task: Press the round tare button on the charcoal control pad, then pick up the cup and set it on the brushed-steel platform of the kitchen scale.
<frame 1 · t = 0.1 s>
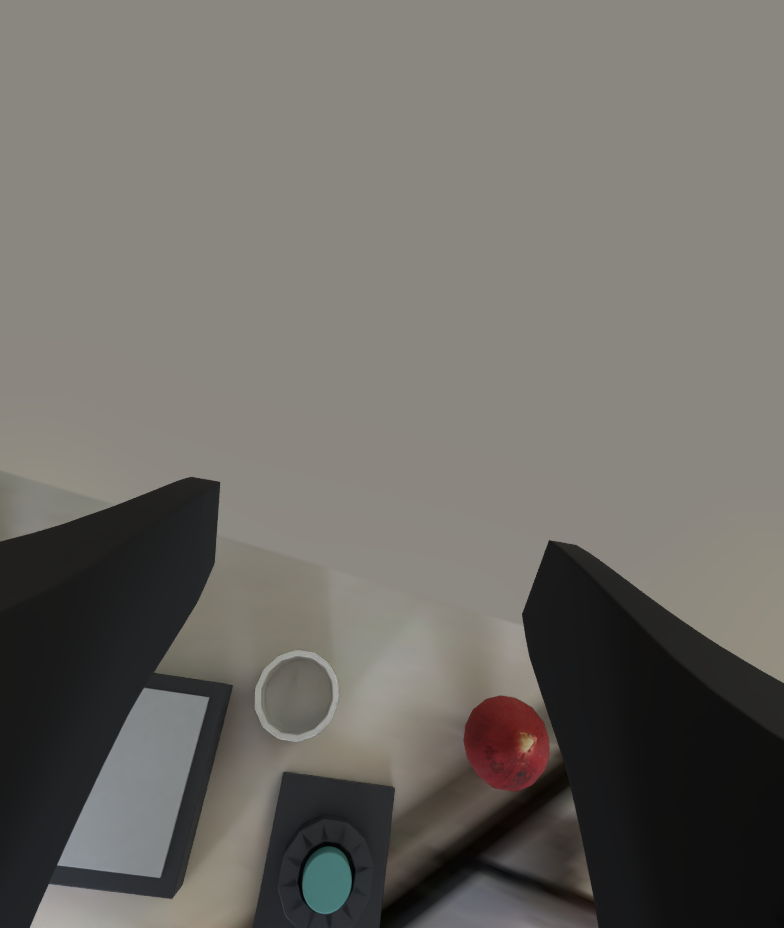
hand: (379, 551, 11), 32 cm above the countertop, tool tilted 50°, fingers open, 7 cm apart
tare button: (326, 878, 31), point 3 cm above the countertop, slide at 0.1 cm
onion: (488, 738, 39), on the countertop
scale: (137, 768, 35), on the countertop
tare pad: (325, 865, 34), on the countertop
cup: (299, 695, 38), on the countertop
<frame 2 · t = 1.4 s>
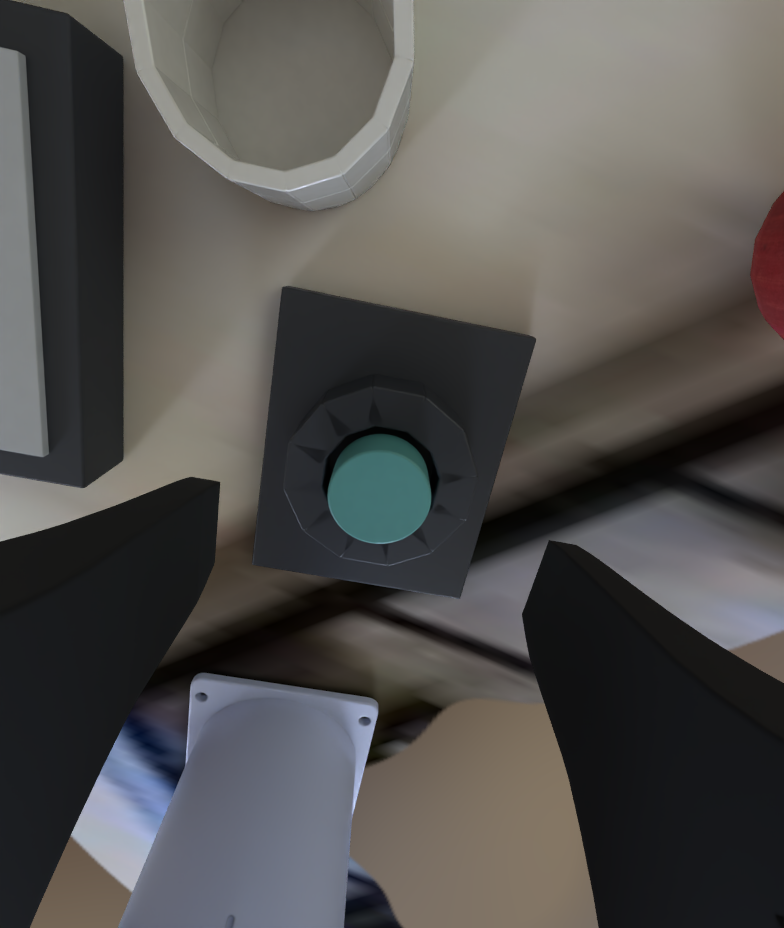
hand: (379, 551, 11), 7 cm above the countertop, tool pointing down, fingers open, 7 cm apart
tare button: (380, 488, 15), point 3 cm above the countertop, slide at 0.1 cm
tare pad: (382, 454, 18), on the countertop
cup: (307, 98, 14), on the countertop
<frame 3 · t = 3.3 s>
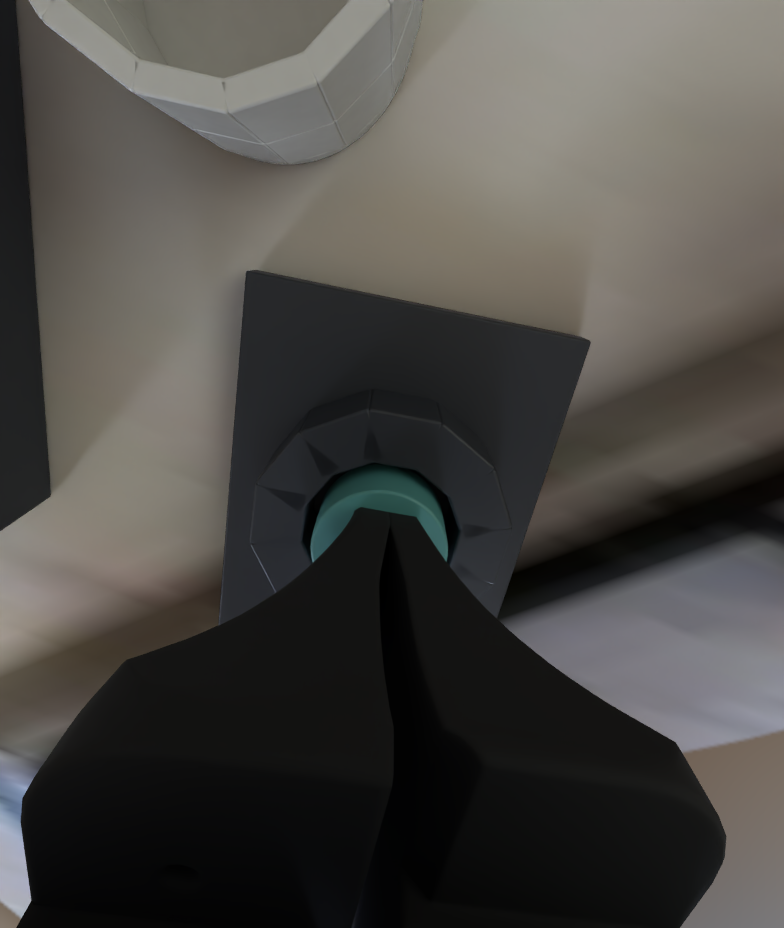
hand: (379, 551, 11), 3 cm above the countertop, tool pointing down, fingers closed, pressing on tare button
tare button: (380, 535, 12), point 2 cm above the countertop, slide at -0.4 cm, touching gripper
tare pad: (382, 490, 14), on the countertop
cup: (276, 0, 10), on the countertop
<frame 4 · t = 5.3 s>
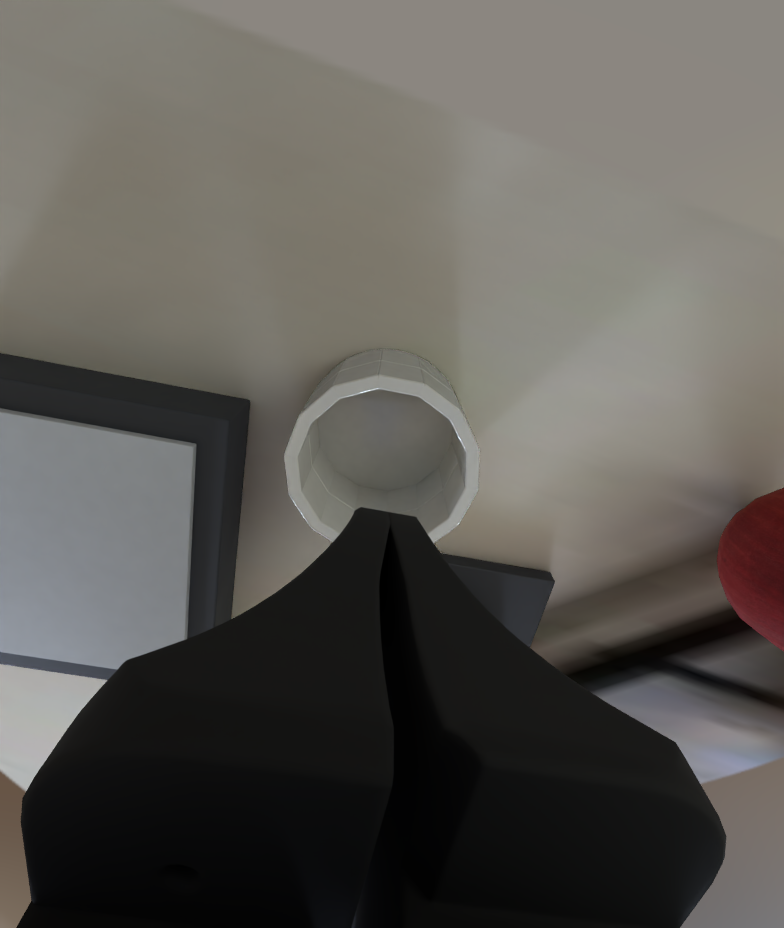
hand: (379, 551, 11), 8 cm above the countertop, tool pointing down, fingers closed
onion: (747, 515, 20), on the countertop
scale: (114, 518, 20), on the countertop
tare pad: (431, 648, 23), on the countertop
cup: (385, 424, 19), on the countertop
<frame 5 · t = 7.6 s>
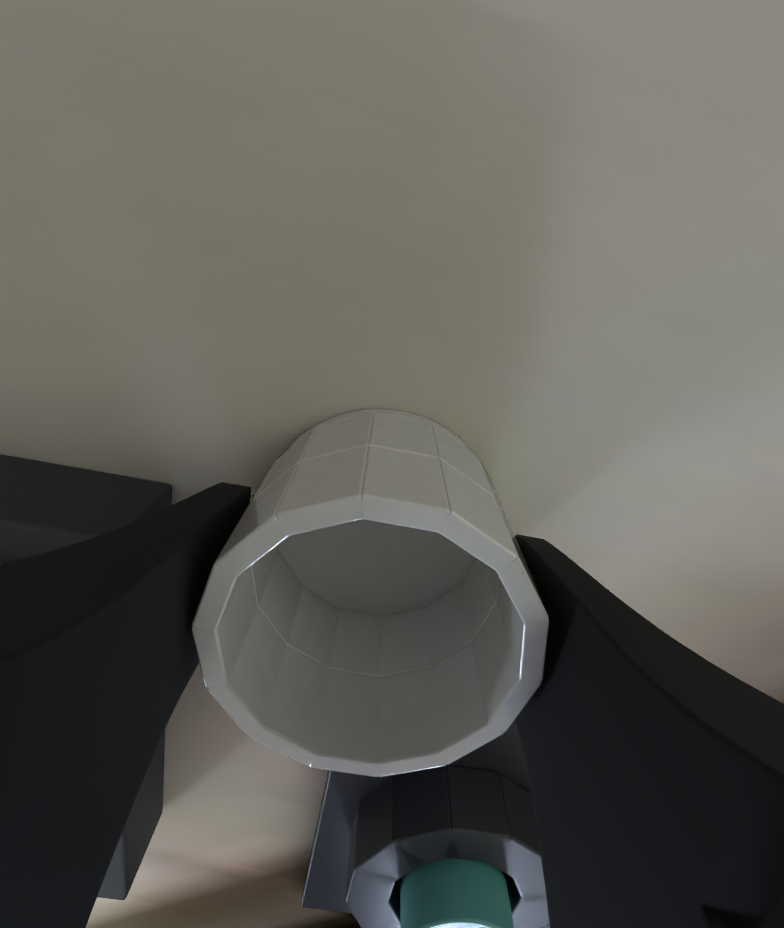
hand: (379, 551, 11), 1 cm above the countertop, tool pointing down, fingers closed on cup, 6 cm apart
tare button: (455, 917, 14), point 3 cm above the countertop, slide at 0.1 cm
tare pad: (446, 808, 16), on the countertop
cup: (379, 519, 12), on the countertop, touching gripper
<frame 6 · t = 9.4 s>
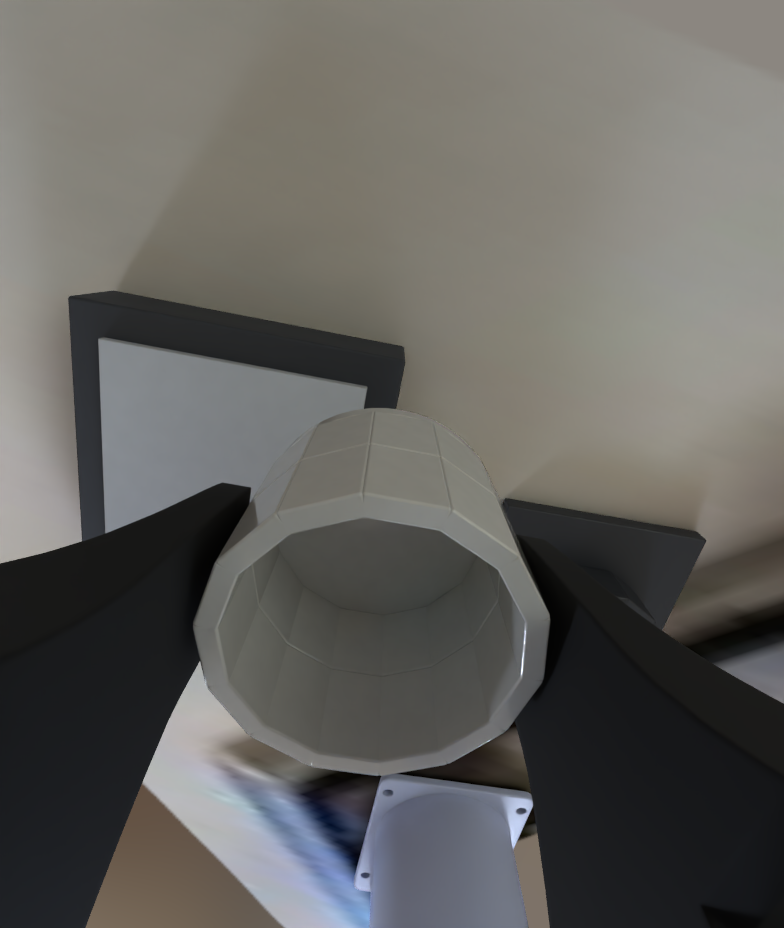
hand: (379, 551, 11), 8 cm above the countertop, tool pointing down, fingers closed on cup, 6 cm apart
scale: (247, 476, 19), on the countertop
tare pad: (562, 614, 22), on the countertop
cup: (380, 518, 12), point 7 cm above the countertop, touching gripper
when the fingers open (4 cm above the countertop, at t = 11.6 s): cup stays where it is, resting on scale.
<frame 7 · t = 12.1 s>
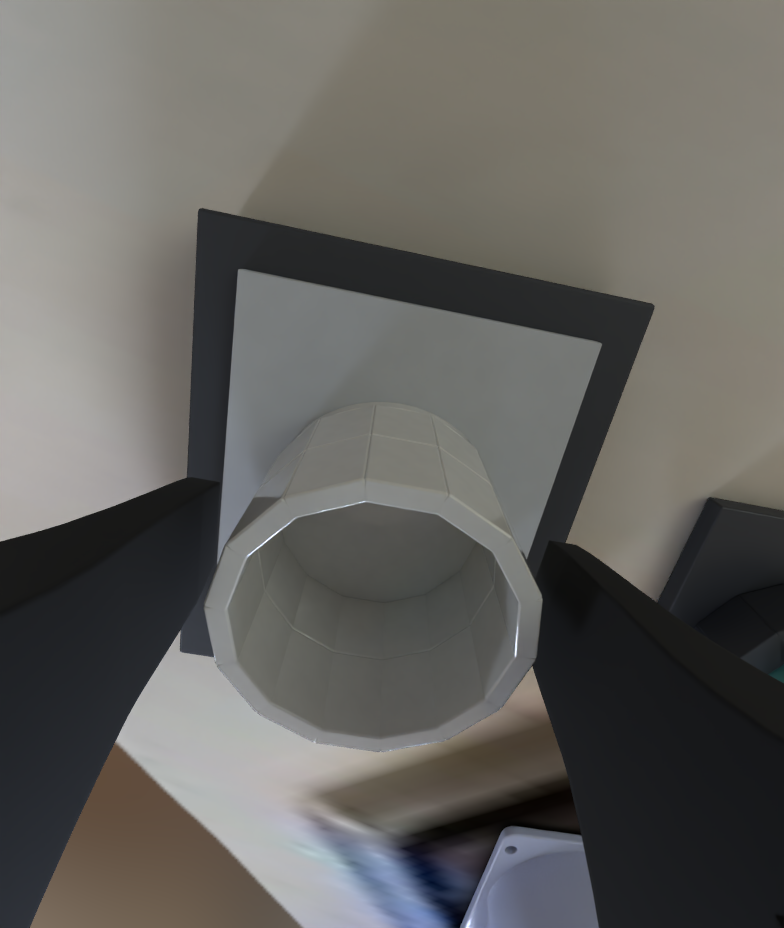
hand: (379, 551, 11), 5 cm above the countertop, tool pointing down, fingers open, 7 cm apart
scale: (384, 467, 15), on the countertop
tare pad: (754, 641, 18), on the countertop
cup: (381, 509, 13), point 3 cm above the countertop, touching scale
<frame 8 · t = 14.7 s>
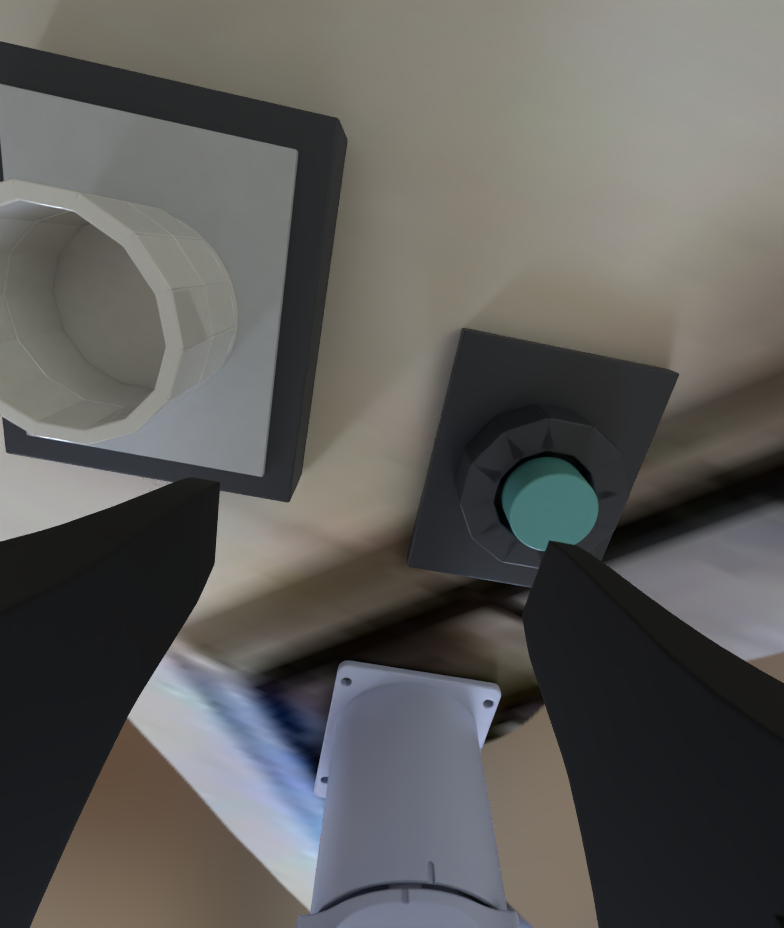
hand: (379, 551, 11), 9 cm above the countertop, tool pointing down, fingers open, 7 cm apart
tare button: (547, 503, 18), point 3 cm above the countertop, slide at 0.1 cm
scale: (183, 300, 18), on the countertop
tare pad: (527, 471, 20), on the countertop
cup: (146, 306, 15), point 3 cm above the countertop, touching scale
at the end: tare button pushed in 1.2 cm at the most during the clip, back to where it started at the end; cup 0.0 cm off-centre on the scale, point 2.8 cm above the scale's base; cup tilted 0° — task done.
